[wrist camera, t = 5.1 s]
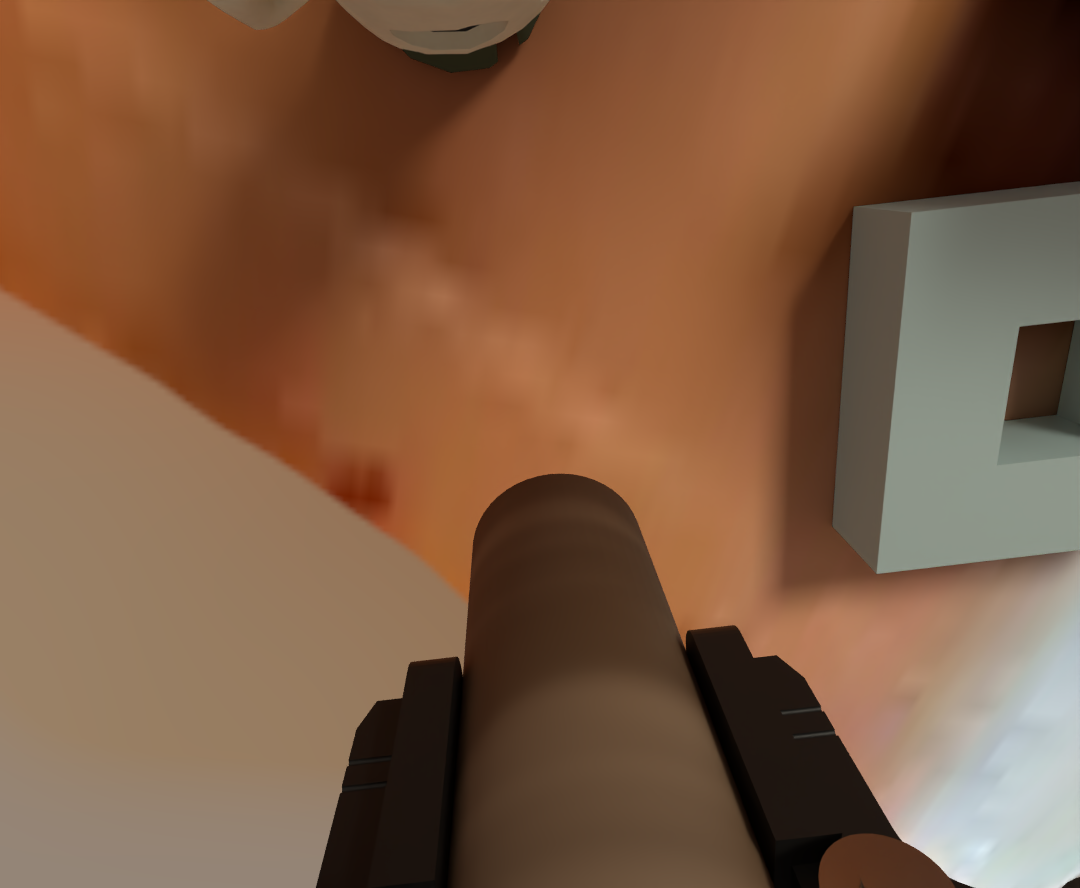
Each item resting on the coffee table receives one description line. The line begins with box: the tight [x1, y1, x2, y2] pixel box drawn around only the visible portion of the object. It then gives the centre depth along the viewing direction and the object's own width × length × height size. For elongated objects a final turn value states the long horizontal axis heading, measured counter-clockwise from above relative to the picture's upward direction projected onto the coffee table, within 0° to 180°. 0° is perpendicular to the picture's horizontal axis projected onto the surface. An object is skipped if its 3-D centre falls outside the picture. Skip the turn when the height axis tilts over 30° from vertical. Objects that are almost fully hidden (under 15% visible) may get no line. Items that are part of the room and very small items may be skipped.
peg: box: [447, 474, 775, 888], centre depth 9 cm, size 4×4×12 cm
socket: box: [832, 181, 1080, 574], centre depth 27 cm, size 14×14×4 cm
